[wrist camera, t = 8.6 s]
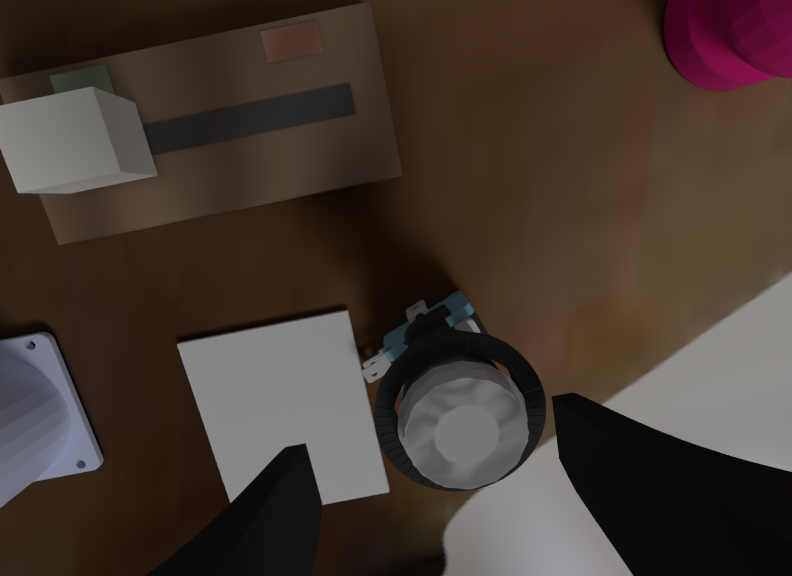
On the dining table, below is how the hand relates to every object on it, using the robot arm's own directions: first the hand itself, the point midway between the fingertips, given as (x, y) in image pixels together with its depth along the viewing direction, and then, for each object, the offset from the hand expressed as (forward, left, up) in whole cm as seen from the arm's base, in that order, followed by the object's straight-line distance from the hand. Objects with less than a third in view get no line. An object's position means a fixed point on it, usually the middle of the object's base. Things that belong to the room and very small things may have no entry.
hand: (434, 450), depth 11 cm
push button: (0, 0, -10) cm, 10 cm away
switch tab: (-11, +12, -8) cm, 18 cm away
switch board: (-7, +12, -10) cm, 17 cm away
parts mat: (-8, -4, -10) cm, 13 cm away
